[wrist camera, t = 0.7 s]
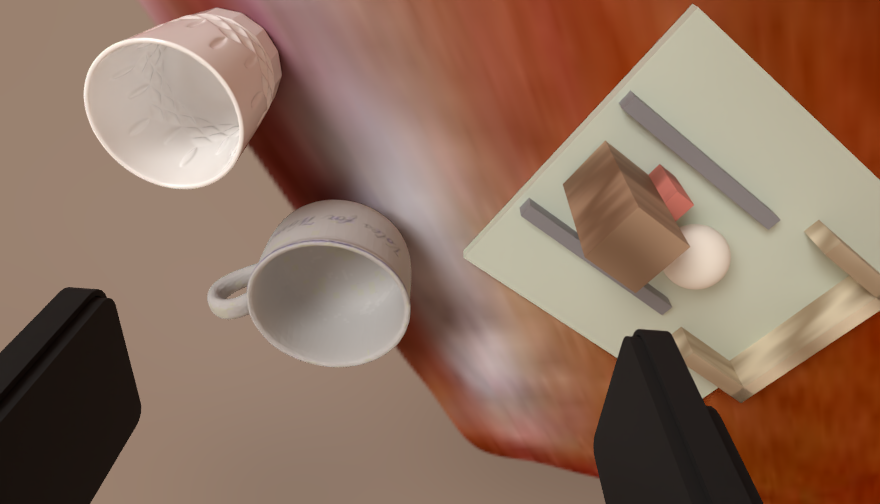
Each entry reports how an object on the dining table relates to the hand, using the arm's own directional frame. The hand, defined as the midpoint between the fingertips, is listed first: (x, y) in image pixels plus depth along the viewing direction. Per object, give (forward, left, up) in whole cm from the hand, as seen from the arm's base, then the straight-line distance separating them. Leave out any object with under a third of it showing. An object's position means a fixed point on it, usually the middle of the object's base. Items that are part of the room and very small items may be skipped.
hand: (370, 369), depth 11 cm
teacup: (+18, +3, -31) cm, 36 cm away
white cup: (+10, -9, -31) cm, 33 cm away
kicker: (+1, +16, -29) cm, 33 cm away
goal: (+1, +33, -29) cm, 44 cm away
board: (+1, +24, -30) cm, 39 cm away
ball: (+1, +23, -27) cm, 36 cm away
